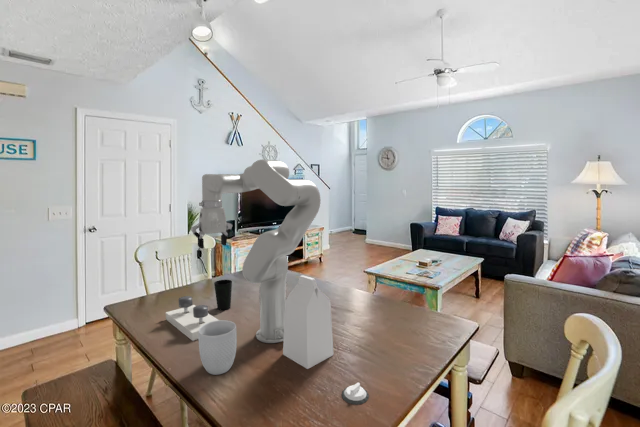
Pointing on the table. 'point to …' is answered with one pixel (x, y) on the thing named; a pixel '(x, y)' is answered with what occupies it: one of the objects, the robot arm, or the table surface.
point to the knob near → (200, 312)
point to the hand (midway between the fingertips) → (212, 246)
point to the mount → (187, 321)
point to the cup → (223, 294)
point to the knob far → (185, 303)
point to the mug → (217, 345)
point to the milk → (307, 324)
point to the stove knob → (355, 394)
